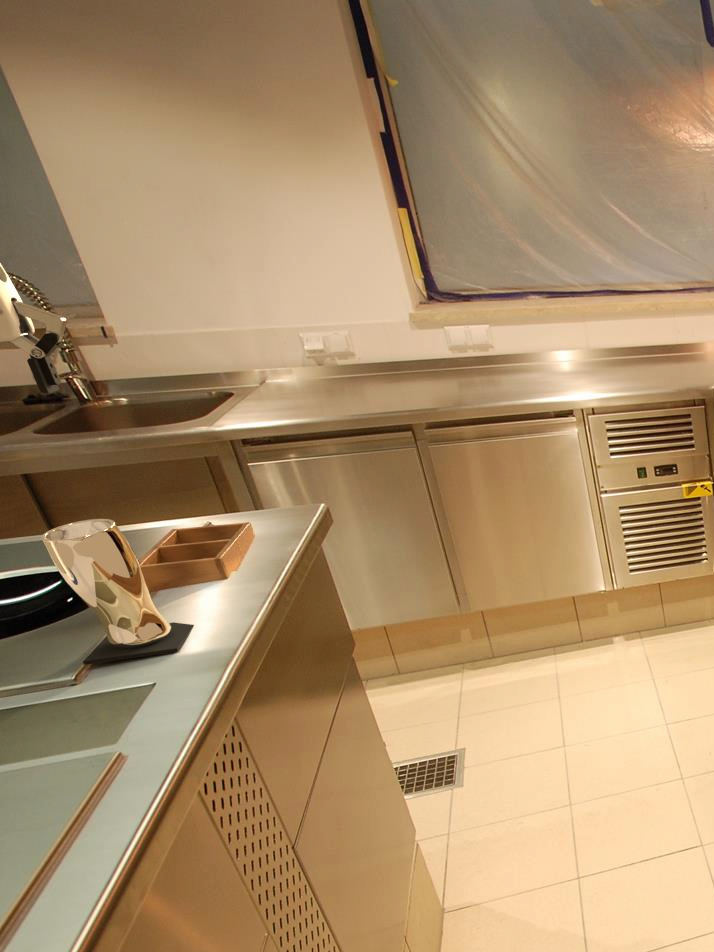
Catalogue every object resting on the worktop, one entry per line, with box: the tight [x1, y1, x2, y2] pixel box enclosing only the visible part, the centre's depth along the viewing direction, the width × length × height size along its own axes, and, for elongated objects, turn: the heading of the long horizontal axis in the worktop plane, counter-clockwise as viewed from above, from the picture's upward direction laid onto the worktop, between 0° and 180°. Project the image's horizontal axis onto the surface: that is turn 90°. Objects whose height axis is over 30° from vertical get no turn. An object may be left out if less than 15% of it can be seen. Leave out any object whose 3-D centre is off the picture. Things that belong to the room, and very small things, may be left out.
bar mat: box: [82, 621, 195, 666], centre depth 108 cm, size 9×10×1 cm
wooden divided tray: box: [138, 521, 256, 593], centre depth 129 cm, size 10×19×5 cm, turn 27°
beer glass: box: [40, 518, 172, 649], centre depth 103 cm, size 7×7×15 cm
